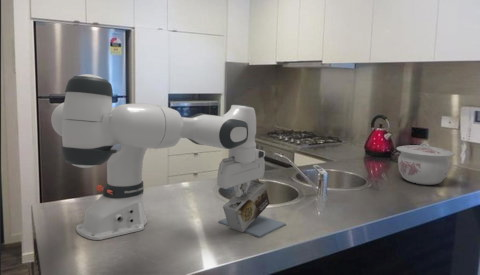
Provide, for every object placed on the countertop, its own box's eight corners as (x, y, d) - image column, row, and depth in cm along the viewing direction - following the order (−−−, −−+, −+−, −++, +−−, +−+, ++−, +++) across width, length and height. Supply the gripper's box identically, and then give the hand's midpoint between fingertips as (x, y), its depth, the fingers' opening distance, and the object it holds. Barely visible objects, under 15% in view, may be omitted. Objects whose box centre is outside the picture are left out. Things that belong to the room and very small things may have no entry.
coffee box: (228, 227, 125) (255, 200, 135) (243, 233, 121) (270, 204, 131) (221, 205, 121) (250, 179, 131) (237, 210, 117) (265, 182, 127)
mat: (259, 237, 118) (259, 236, 118) (218, 222, 129) (218, 220, 129) (285, 225, 129) (286, 223, 129) (245, 212, 141) (245, 210, 141)
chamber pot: (446, 192, 176) (451, 149, 173) (386, 181, 193) (390, 142, 189) (455, 181, 198) (459, 143, 195) (400, 172, 215) (404, 137, 212)
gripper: (227, 161, 111) (227, 205, 113) (268, 151, 126) (267, 190, 128) (212, 158, 115) (212, 201, 117) (253, 148, 130) (252, 186, 132)
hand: (241, 195), depth 123 cm, fingers closed
